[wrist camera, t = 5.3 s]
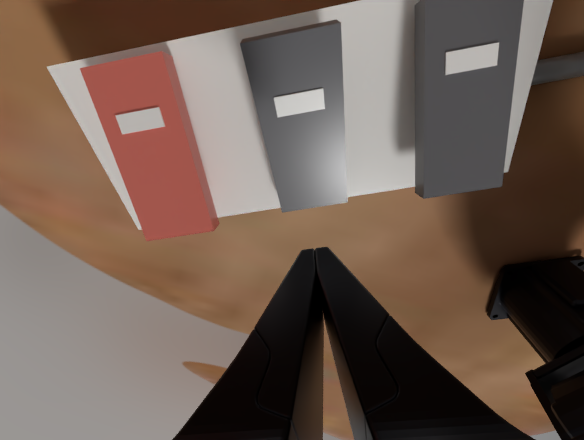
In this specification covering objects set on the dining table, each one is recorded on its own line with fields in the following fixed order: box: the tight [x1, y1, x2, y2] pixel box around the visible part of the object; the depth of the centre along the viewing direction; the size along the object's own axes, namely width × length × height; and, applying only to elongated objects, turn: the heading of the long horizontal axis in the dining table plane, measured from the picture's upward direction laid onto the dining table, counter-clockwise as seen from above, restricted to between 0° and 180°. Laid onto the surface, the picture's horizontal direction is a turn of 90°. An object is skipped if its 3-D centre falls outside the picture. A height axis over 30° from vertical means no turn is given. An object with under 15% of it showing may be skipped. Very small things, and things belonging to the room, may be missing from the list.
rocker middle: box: [240, 20, 348, 212], centre depth 13 cm, size 8×4×1 cm, turn 10°
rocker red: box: [80, 51, 219, 241], centre depth 13 cm, size 8×4×1 cm, turn 10°
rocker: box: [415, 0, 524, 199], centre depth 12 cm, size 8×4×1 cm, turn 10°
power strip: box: [47, 0, 584, 230], centre depth 15 cm, size 9×28×3 cm, turn 100°
